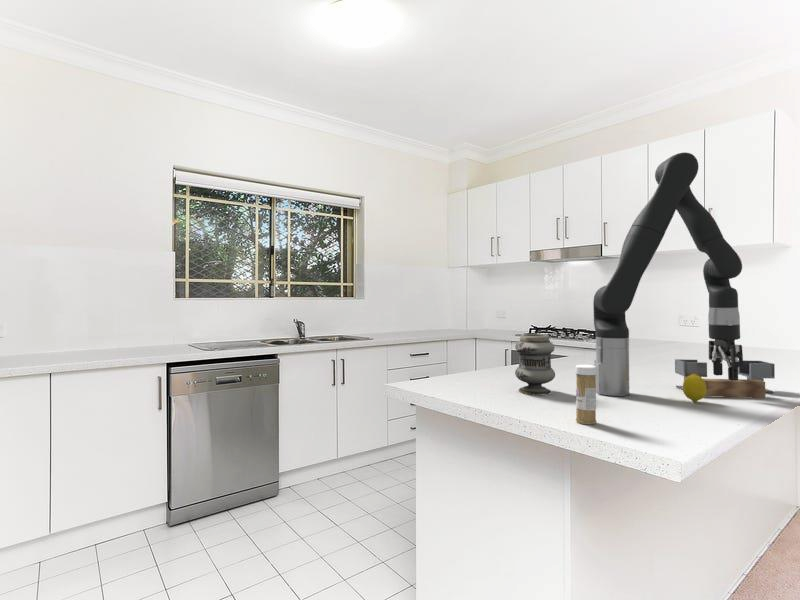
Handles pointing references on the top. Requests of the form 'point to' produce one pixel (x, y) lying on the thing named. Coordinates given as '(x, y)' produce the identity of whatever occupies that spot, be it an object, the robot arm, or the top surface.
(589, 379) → the sprinkles bottle
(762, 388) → the rail
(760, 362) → the bracket stand
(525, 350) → the apothecary jar
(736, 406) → the top surface
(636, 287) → the robot arm
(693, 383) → the lemon
